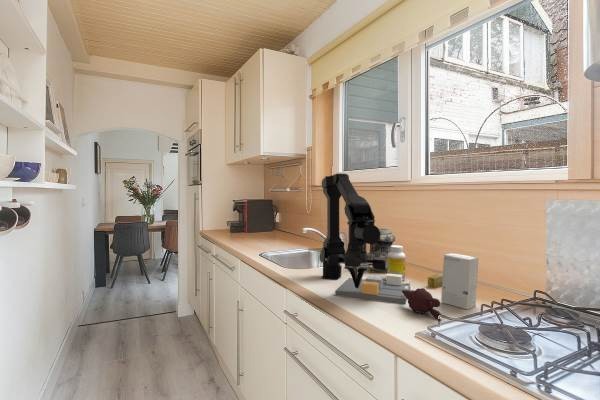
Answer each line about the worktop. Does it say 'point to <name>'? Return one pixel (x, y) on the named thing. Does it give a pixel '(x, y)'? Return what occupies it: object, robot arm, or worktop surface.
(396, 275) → the slider white
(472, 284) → the skincare box
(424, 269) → the worktop surface
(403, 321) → the worktop surface
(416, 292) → the beetroot
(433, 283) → the medication box
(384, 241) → the apothecary jar
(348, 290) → the panel
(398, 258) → the supplement bottle
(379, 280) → the slider blue
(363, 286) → the slider orange
